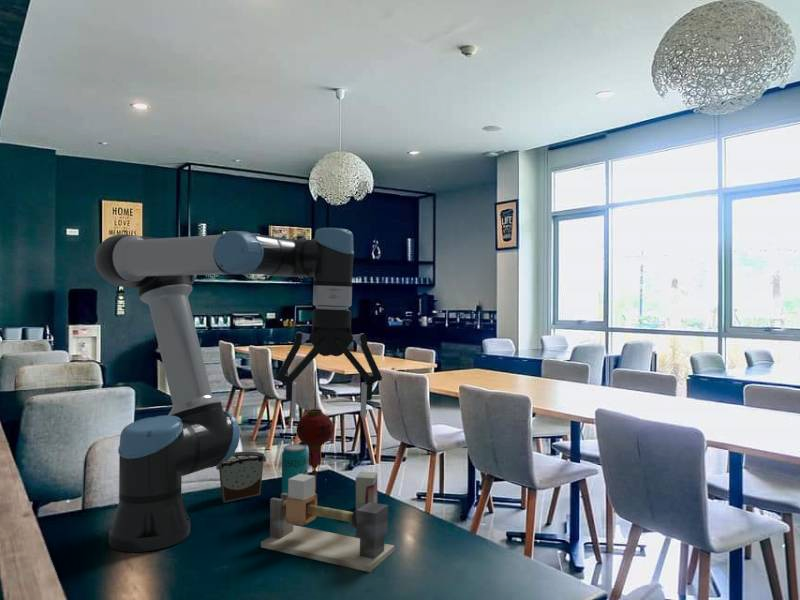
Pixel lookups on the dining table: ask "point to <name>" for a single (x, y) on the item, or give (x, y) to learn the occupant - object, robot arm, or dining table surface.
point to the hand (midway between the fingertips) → (328, 416)
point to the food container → (241, 475)
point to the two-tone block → (300, 499)
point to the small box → (366, 488)
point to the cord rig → (332, 535)
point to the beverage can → (293, 463)
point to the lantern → (314, 434)
